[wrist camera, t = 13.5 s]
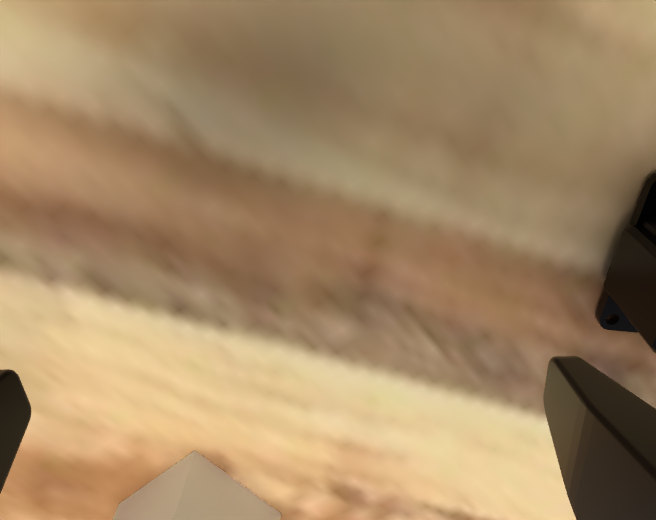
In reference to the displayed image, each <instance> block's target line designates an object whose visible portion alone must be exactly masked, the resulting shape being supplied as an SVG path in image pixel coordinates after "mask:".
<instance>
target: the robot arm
mask: <svg viewBox="0 0 656 520" xmlns="http://www.w3.org/2000/svg"><path fill="white" fill-rule="evenodd" d="M604 288H605V291H604V293H603V296H602V299H601V301H600V304H599V306H598V309H597V312H596V319H597V321H598V322H599V324H600V325H601V326H602V327H603V328H604V329H607V330H616V331H627V332H638V333H639V334H640V335H641V336H642V337H643V339H644V340H645V341H646V343H647V344H648V345H649V346H650V348H651V349H652V350H653V352H655V353H656V173H654V174H653V175H651V176H650V177H649V178H648V179H647V181H646V183H645V185H644V188H643V190H642V193H641V196H640V198H639V201H638V204H637V206H636V209H635V212H634V214H633V217H632V219H631V222H630V225H629V226H628V227H627V228H626V229H625V230H624V232H623V234H622V237H621V240H620V242H619V245H618V247H617V250H616V253H615V255H614V258H613V261H612V263H611V266H610V269H609V271H608V274H607V277H606V279H605V282H604ZM611 314H615V315H614V316H613V317H612V318H610V319H606V318H607V317H608V316H609V315H611ZM543 401H544V409H545V413H546V417H547V421H548V425H549V428H550V432H551V436H552V440H553V443H554V447H555V451H556V455H557V458H558V462H559V466H560V470H561V473H562V477H563V481H564V484H565V488H566V491H567V495H568V498H569V501H570V503H571V506H572V509H573V512H574V514H575V517H576V519H577V520H656V409H655V408H653V407H652V406H650V405H649V404H647V403H646V402H645V401H643V400H642V399H640V398H639V397H637V396H636V395H634V394H633V393H631V392H630V391H628V390H627V389H625V388H624V387H623V386H621V385H620V384H618V383H617V382H615V381H614V380H612V379H611V378H609V377H608V376H606V375H605V374H603V373H602V372H600V371H599V370H598V369H596V368H595V367H593V366H592V365H590V364H589V363H587V362H586V361H584V360H583V359H581V358H579V357H577V356H555V357H553V358H552V359H551V360H550V362H549V365H548V371H547V377H546V383H545V389H544V397H543ZM30 417H31V406H30V403H29V400H28V398H27V395H26V393H25V390H24V388H23V385H22V383H21V381H20V378H19V376H18V374H17V373H16V372H15V371H13V370H0V493H1V491H2V488H3V486H4V483H5V481H6V478H7V476H8V473H9V471H10V468H11V466H12V463H13V461H14V458H15V456H16V453H17V451H18V448H19V446H20V443H21V441H22V438H23V436H24V433H25V431H26V428H27V426H28V423H29V421H30Z"/></svg>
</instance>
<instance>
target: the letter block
mask: <svg viewBox="0 0 656 520" xmlns="http://www.w3.org/2000/svg"><path fill="white" fill-rule="evenodd" d="M280 519H281V513H280V512H279V511H277V510H276V509H274V508H273V507H272V506H270V505H269V504H268V503H266V502H265V501H264V500H262V499H261V498H259V497H258V496H257V495H255V494H254V493H253V492H251V491H250V490H249V489H247V488H246V487H244V486H243V485H242V484H240V483H239V482H238V481H236V480H235V479H234V478H232V477H231V476H229V475H228V474H227V473H225V472H224V471H223V470H221V469H220V468H219V467H217V466H216V465H214V464H213V463H212V462H210V461H209V460H208V459H206V458H205V457H204V456H202V455H201V454H199V453H198V452H197V451H195V450H194V451H193V452H192V453H190V454H189V455H187V456H186V457H185V458H183V459H182V460H180V461H179V462H177V463H176V464H175V465H173V466H172V467H170V468H169V469H167V470H166V471H165V472H163V473H162V474H160V475H159V476H158V477H156V478H155V479H153V480H152V481H150V482H149V483H148V484H146V485H145V486H143V487H142V488H140V489H139V490H138V491H136V492H135V493H133V494H132V495H131V496H129V497H128V498H126V499H125V500H123V501H122V502H121V503H119V505H118V508H117V510H116V512H115V515H114V517H113V519H112V520H280Z"/></svg>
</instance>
